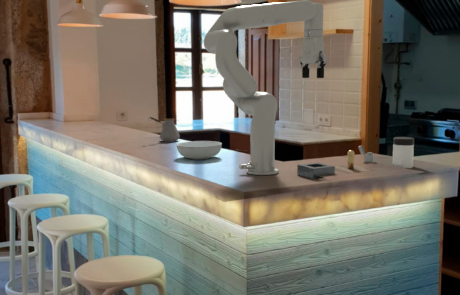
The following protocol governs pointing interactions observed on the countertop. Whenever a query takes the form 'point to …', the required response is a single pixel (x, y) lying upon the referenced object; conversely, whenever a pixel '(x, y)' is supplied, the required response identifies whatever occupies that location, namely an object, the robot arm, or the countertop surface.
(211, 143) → the serving bowl
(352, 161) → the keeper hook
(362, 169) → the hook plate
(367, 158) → the lighter
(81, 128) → the countertop surface
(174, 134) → the coffee pot
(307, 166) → the grey square frame
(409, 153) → the jar
